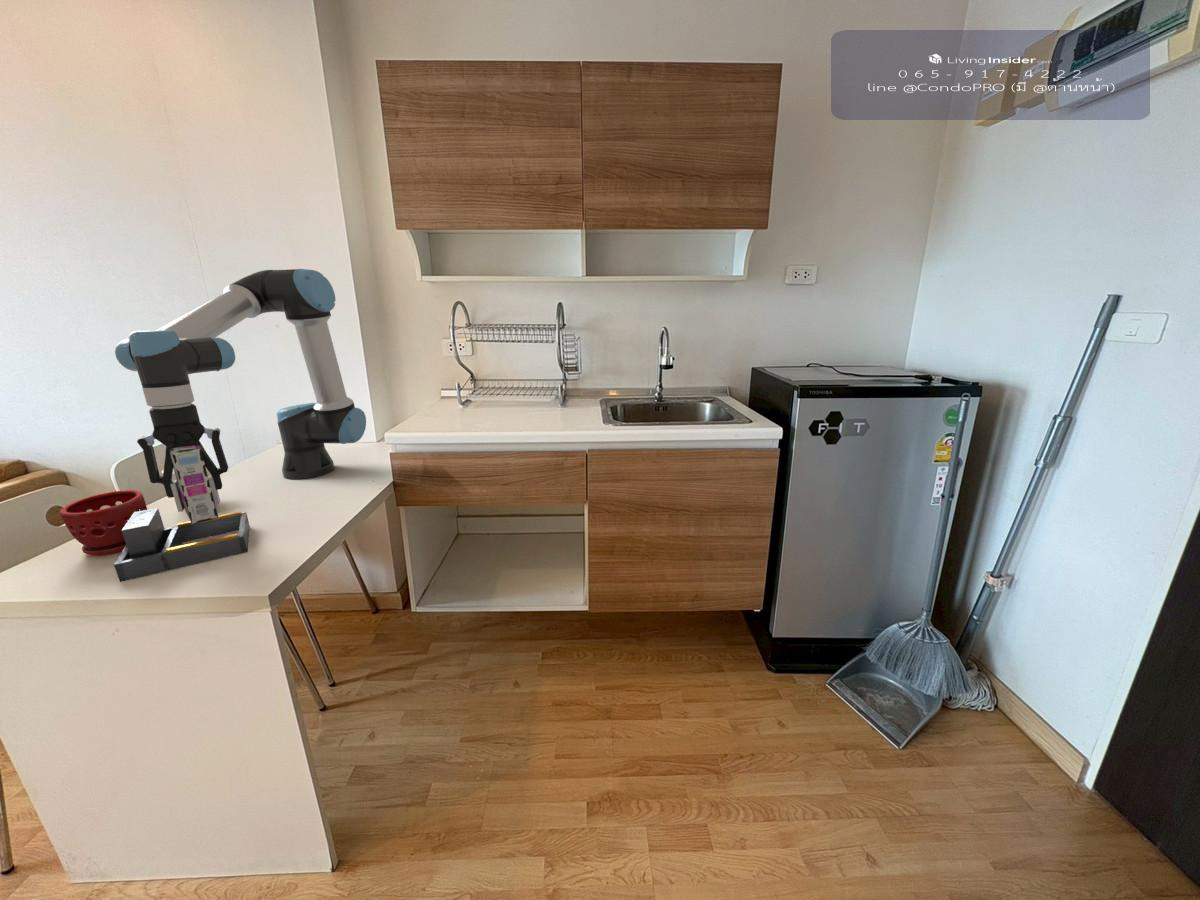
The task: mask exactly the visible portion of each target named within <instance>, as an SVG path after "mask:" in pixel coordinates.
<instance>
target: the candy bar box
mask: <svg viewBox="0 0 1200 900" xmlns="http://www.w3.org/2000/svg"><path fill="white" fill-rule="evenodd" d="M170 455H171V459H172V462H173V469H174V472H175V476H176V479H177V483H178V486H179V490H180V493H181V497H182V500H183V504H184V509H185V513H186V514H187V515H186V516H187V517H188V519H189V521H191V523H192V524H195V523H199V522H203V521H208V520H212V519H215V518H218V516H219V514H218V510H217V505H215V502H214V498H213V494H212V490H211V486H210V482H209V479H208V477H209V475H208V470H207V471H206V467H205V463H204V459H203V456H202V452H201V448H200V447H199V446H183V447H176V448H173V449H170Z"/></svg>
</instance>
